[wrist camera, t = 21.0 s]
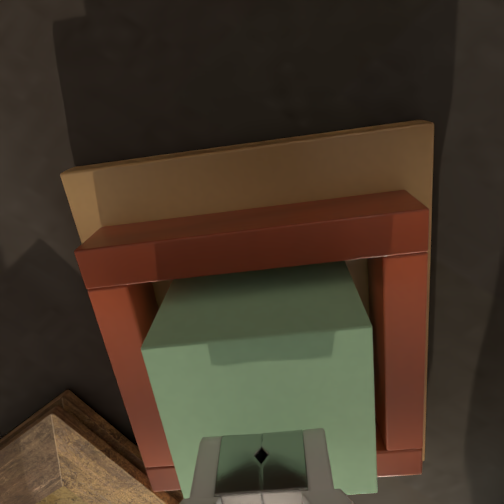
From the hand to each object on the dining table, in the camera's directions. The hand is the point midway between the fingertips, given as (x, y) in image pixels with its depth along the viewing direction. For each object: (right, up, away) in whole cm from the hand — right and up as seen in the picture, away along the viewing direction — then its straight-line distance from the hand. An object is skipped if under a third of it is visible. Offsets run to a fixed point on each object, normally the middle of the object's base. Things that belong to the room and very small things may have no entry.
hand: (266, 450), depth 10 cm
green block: (0, +2, +4) cm, 5 cm away
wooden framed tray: (0, +2, +5) cm, 6 cm away
